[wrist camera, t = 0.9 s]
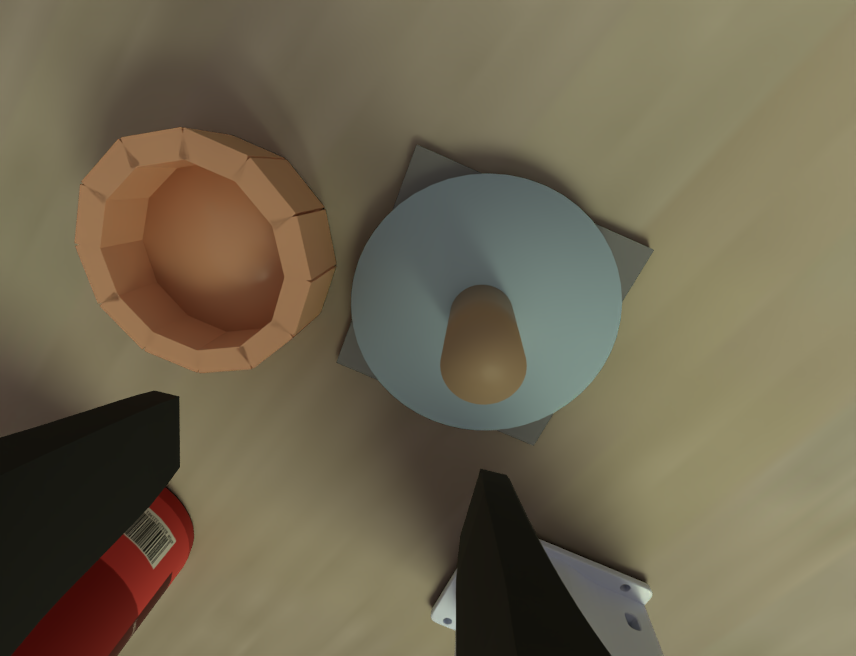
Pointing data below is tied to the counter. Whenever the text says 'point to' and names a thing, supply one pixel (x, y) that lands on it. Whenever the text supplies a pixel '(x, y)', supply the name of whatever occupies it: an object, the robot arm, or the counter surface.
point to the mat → (438, 168)
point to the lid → (486, 301)
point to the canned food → (117, 587)
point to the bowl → (203, 247)
